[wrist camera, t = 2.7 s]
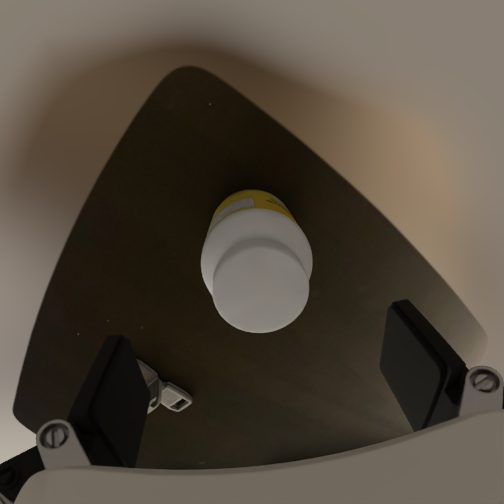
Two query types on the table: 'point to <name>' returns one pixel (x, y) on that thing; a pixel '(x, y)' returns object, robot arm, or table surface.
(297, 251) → the pill bottle
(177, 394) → the strap clip
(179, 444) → the table surface
